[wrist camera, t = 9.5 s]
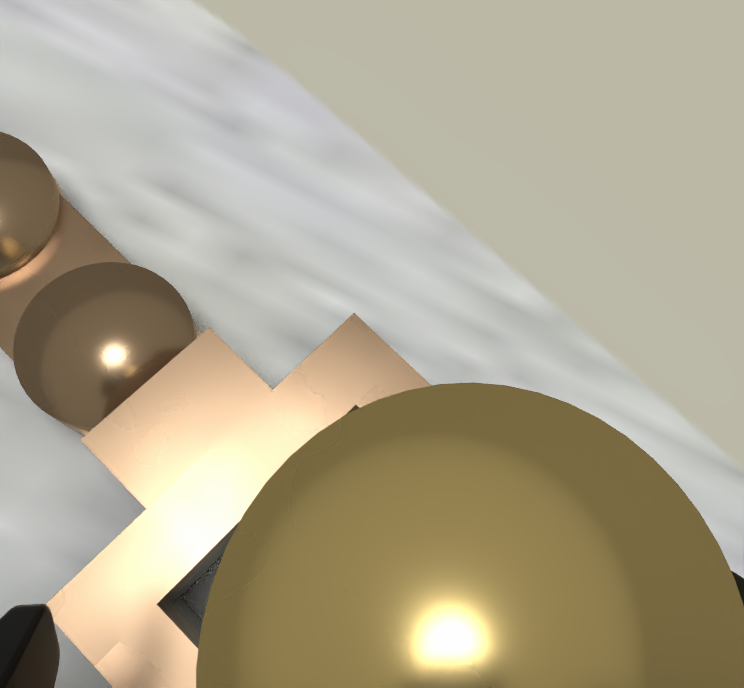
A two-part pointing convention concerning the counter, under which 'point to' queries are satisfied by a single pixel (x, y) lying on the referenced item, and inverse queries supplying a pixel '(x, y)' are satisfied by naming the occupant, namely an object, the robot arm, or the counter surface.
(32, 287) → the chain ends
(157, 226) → the counter surface
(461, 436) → the brass pin
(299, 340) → the counter surface
